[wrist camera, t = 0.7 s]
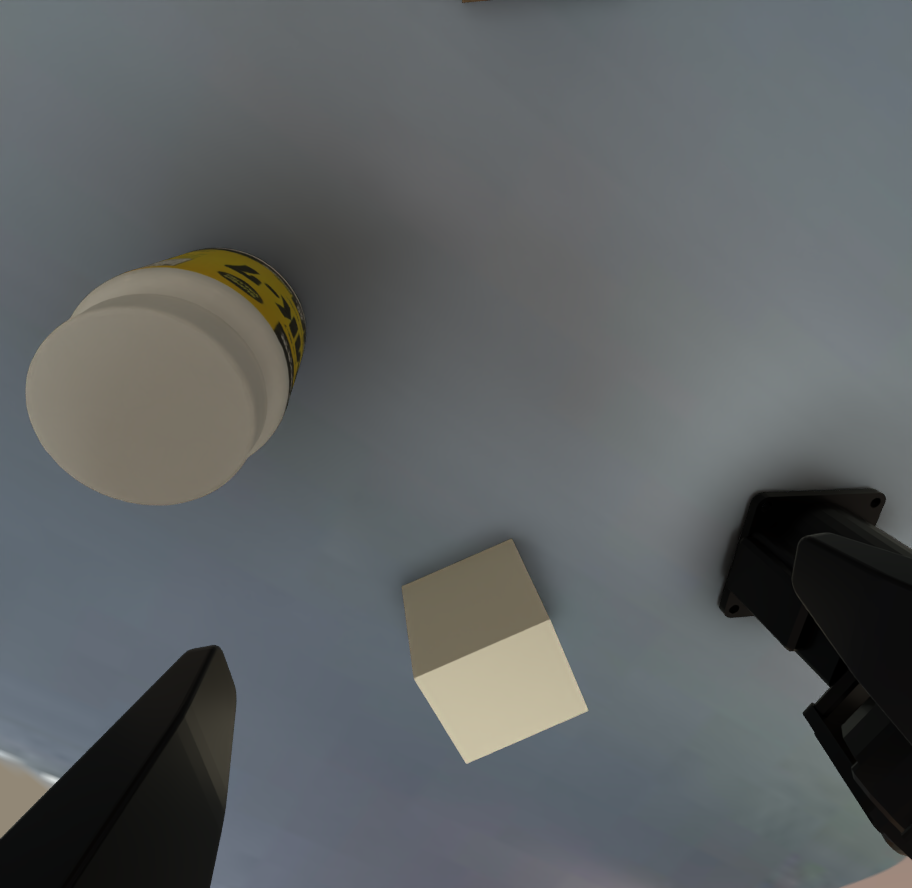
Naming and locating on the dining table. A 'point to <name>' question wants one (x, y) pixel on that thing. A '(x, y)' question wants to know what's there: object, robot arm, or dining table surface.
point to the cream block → (488, 653)
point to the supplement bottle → (169, 376)
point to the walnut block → (472, 1)
